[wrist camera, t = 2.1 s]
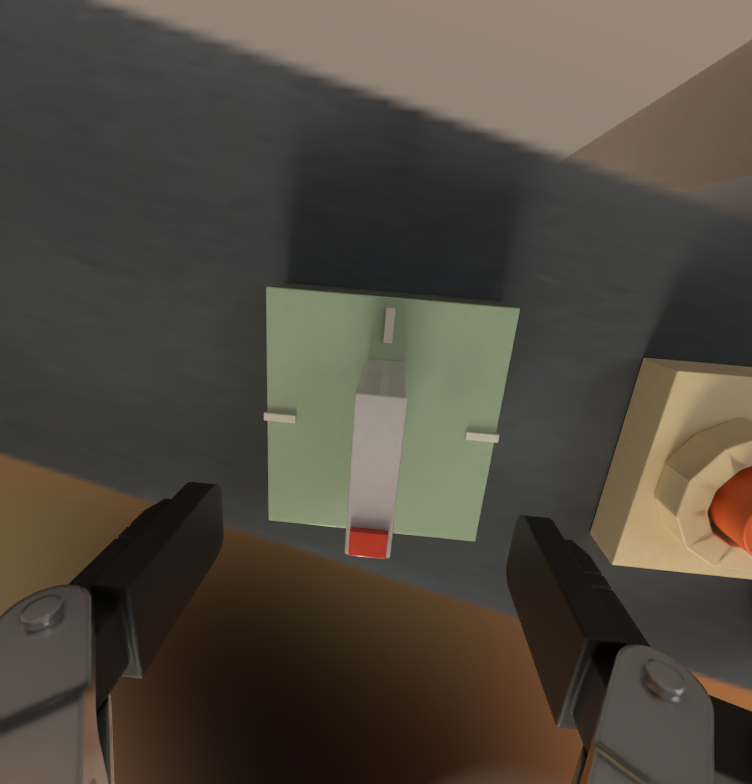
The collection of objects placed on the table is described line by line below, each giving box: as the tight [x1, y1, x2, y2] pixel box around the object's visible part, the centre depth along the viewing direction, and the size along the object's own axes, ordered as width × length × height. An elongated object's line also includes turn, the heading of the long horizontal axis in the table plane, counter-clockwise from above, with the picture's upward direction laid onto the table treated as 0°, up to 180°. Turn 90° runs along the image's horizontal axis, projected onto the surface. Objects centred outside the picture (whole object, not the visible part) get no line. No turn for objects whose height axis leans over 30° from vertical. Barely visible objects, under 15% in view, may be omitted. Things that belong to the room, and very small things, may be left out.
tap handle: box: [345, 359, 408, 559], centre depth 15 cm, size 6×2×5 cm, turn 176°
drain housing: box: [590, 358, 752, 579], centre depth 18 cm, size 10×8×4 cm
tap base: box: [264, 283, 520, 541], centre depth 18 cm, size 11×10×3 cm
